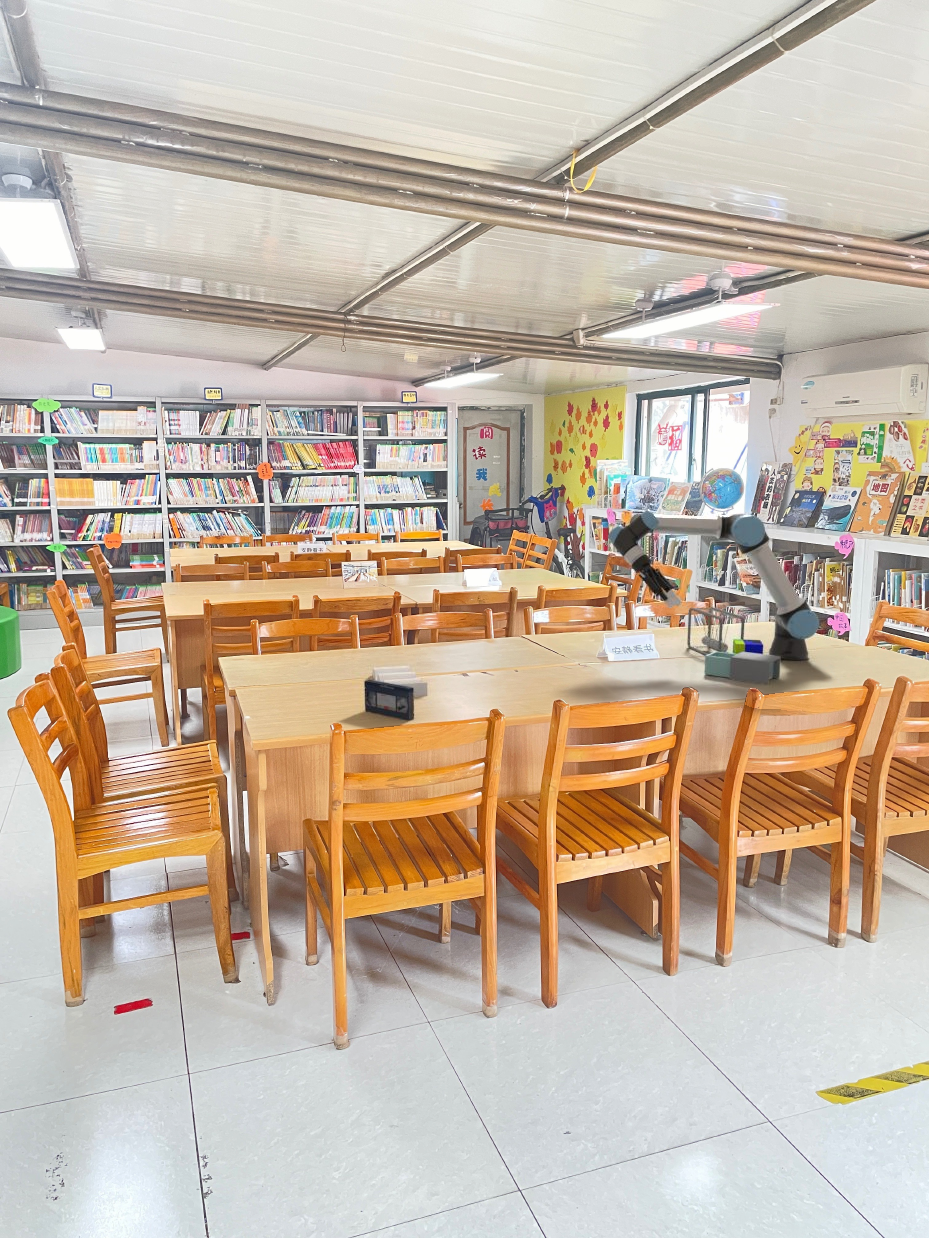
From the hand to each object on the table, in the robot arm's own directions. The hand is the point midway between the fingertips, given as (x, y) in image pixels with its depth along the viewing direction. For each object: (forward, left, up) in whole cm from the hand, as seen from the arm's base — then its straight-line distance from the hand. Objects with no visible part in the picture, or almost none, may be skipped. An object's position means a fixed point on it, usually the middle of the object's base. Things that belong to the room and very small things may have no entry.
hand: (676, 605), depth 334 cm
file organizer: (+107, -14, -25) cm, 111 cm away
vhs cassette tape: (+122, +22, -25) cm, 127 cm away
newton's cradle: (-32, -16, -25) cm, 43 cm away
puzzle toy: (-27, +10, -25) cm, 38 cm away
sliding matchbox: (-13, +22, -24) cm, 35 cm away
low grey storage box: (-16, +27, -24) cm, 40 cm away
